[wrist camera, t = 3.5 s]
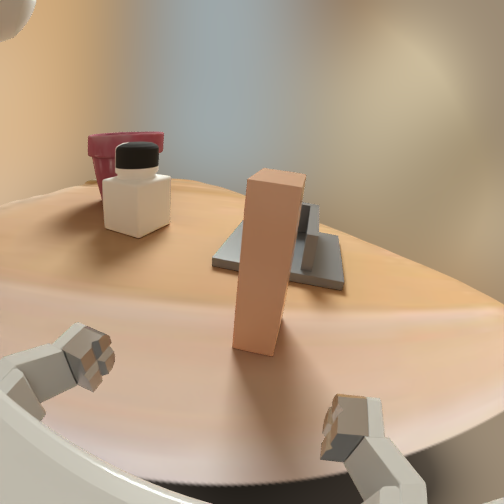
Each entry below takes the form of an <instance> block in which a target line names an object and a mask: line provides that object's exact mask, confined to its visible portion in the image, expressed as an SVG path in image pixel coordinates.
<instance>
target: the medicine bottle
mask: <svg viewBox="0 0 504 504" xmlns="http://www.w3.org/2000/svg"><path fill="white" fill-rule="evenodd" d="M158 160H159V147H158V145H157V144H155V143H153V142H142V141H139V142H127V143H122V144H120V145H118V146H117V147H116V149H115V173H116V174H117V176H115V177H111V178H107V179H104V180H103V181H102V191H103V211H104V225H105V228H106V229H110V230H113V231H116V232H119V233H123V234H126V235H129V236H132V237H136V238H141V237H143V236H145V235H147V234H149V233H151V232H153V231H155V230H157V229H159V228H162V227H164V226H166V225H168V224H169V223H170V200H171V177H170V176H166V175H159V174H156V172H157V171H158Z"/></svg>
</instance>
